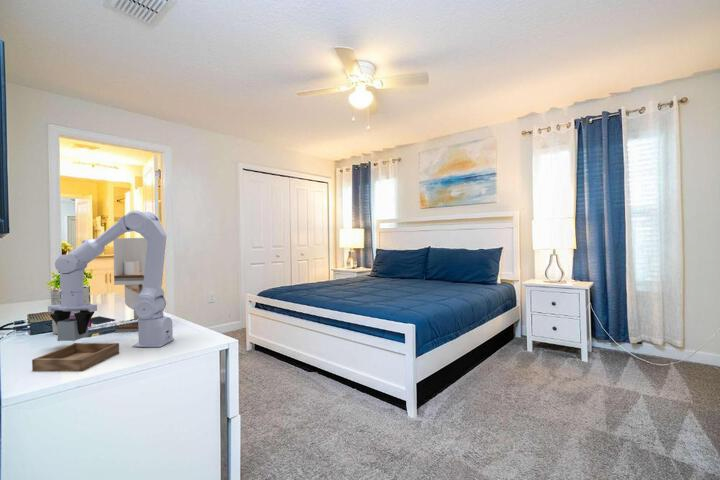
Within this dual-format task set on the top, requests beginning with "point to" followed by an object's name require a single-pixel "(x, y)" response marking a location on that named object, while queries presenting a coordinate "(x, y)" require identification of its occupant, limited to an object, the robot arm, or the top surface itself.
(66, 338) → the grey crate
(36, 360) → the walnut crate
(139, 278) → the display case
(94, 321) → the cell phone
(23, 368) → the top surface
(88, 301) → the candy bar box
